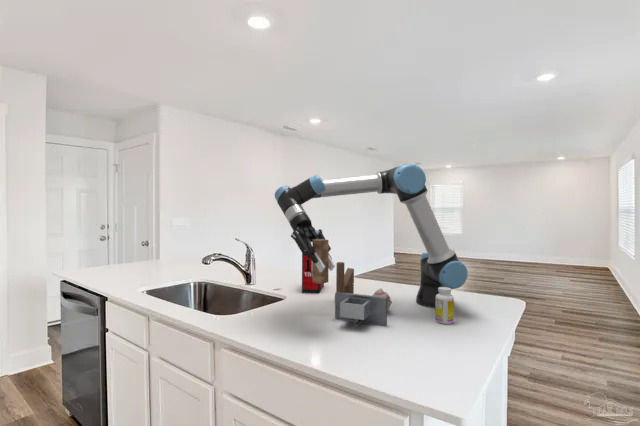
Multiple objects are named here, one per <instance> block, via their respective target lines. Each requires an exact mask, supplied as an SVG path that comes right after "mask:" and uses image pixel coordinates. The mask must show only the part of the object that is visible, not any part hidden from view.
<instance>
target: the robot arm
mask: <svg viewBox="0 0 640 426" xmlns="http://www.w3.org/2000/svg"><path fill="white" fill-rule="evenodd" d="M426 177H427V176H426V173H425V172H424V170H423V169H422V168H421V166H419V165H417V164H413V163H404V164H401V165H399V166H396V167H393V168H390V169H387V170H383V171H377V172H376V173H375V174H367V175H357V176H356V175H355V176H347V177H337V178H327V179H322V178H321V176H320V175H319V174H315V175H313V176H311V177H309V178H307V179H306V180H304V181H302V182H300V183H299V184H296V185H294V186H292V187H291V186H289V185H282V186H280V187H278V188H276V190H275V191H274V198H275V200H276V203H277V205H278V206H279V208H280V210H281V211H282V213H283V215H284V217H285V218H286V219H287V221H288V223H289V225H290V227H291V229H292V233H291V235H290V237H291V238H292V239H293V240H294V242H295V243H296V245H297V247H298V248H299V250H300V252H301V254H302V253H303V255H304V256H306V255H307V256H308V257H307V258H311V260H312V261H313V263H314V264H315V265H316V266H317V268H318V270H319V271H320V272H322V271H323V270H324V268H325V266H324V264H323V262H322V261H321V259H320V258H319V256H318V254H317V252H316V253H314V250H313V247H312V240H315V239H325V240H327V239H326V237H325V236H324V234H323V230H322V229H320V228H319V229H315V227H314V226H313V224H312V220H311V219H310V217H309V215H308V214H307V212H306V210H305V208H304V207H303V204H305V203H306V202H309V201H310V200H313V199H318V198H328V197H330V198H331V197H337V196H347V195H357V194H367V193H368V194H369V193H376V192H377V194H379V195H381V194H393V195H397V197H398V199H399V202H400V203H401V204H404V205H406V208H407V211H408V212H409V215H410V217H411V219H412V222H413V224H414V225H415V228H416V230H417V233H418V234H419V235H418V236H419V237H420V239H421V241H422V244H423V246H424V248H425V251H426V252H422V253H421V255H420V260H419V261H420V284H419V288H418V291H417V293H416V296H415V297H416V298H415V299H416V300H415V303H417V304H418V305H420V306H423V307H426V308H427V307H428V308H435V298H436V295H437V294H439V291H438V288H439V287H448V288H451V290H456V289H459V288H461V287H463V285H464V284H465V283H466V281H467V279H468V275H469V272H468V268H467V266H466V265H465V264H464V263H463V262H462V261H460V259H459V258H458V255H457V254H456V251H455V250H454V249H451V248H450V247H449V245H448V242H447V241H446V239H445V236H444V233H443V232H442V229H441V227H440V225H439V223H438V220H437V218H436V215H435V213H434V211H433V209H432V207H431V204H430V203H429V201H428V198H427V193H428V188H427V186H426V183H427V178H426ZM331 250H332V247H331V246H330V245H329V243H328V271H330V272H331V271H333V269H334V268H336V264H335V263H334V261H333V258H332V256H331V255H330V253H329V252H330V251H331Z"/></svg>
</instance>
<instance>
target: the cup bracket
mask: <svg viewBox="0 0 640 426" xmlns="http://www.w3.org/2000/svg"><path fill="white" fill-rule="evenodd" d="M334 319H337V320H343V321H349V322H354V326H359V325H360V324H361V323H363V324H369V325H370V324H371V325H378V326H384V327H386V326H387V325H388V314H387V297H378V296H372V295H369V294H359V293H354V294H352V293H344V292H336V291H335V292H334Z"/></svg>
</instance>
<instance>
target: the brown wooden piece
mask: <svg viewBox="0 0 640 426" xmlns="http://www.w3.org/2000/svg"><path fill="white" fill-rule="evenodd" d="M335 269H336V275H335V277H336V284H335V285H336V287H335V288H336V289H335V293H336V292H344V293H352V294H355V293H354V291H355V290H354V287H355V285H354V283H355V268H351V267H347V269H346V270H345V262H343V261H337V262H336V267H335Z"/></svg>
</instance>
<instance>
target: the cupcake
mask: <svg viewBox="0 0 640 426" xmlns="http://www.w3.org/2000/svg"><path fill="white" fill-rule="evenodd" d="M371 296H378V297H387V315H388V314H389V312H390V308H391V306H392V304H393V301H392V300H391V297H390V295H389V294H388V292H386V291H384V289H383V288H382V287H381V288H378V289H376V291H375V292H374V293H373V294H372V295H371Z"/></svg>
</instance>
